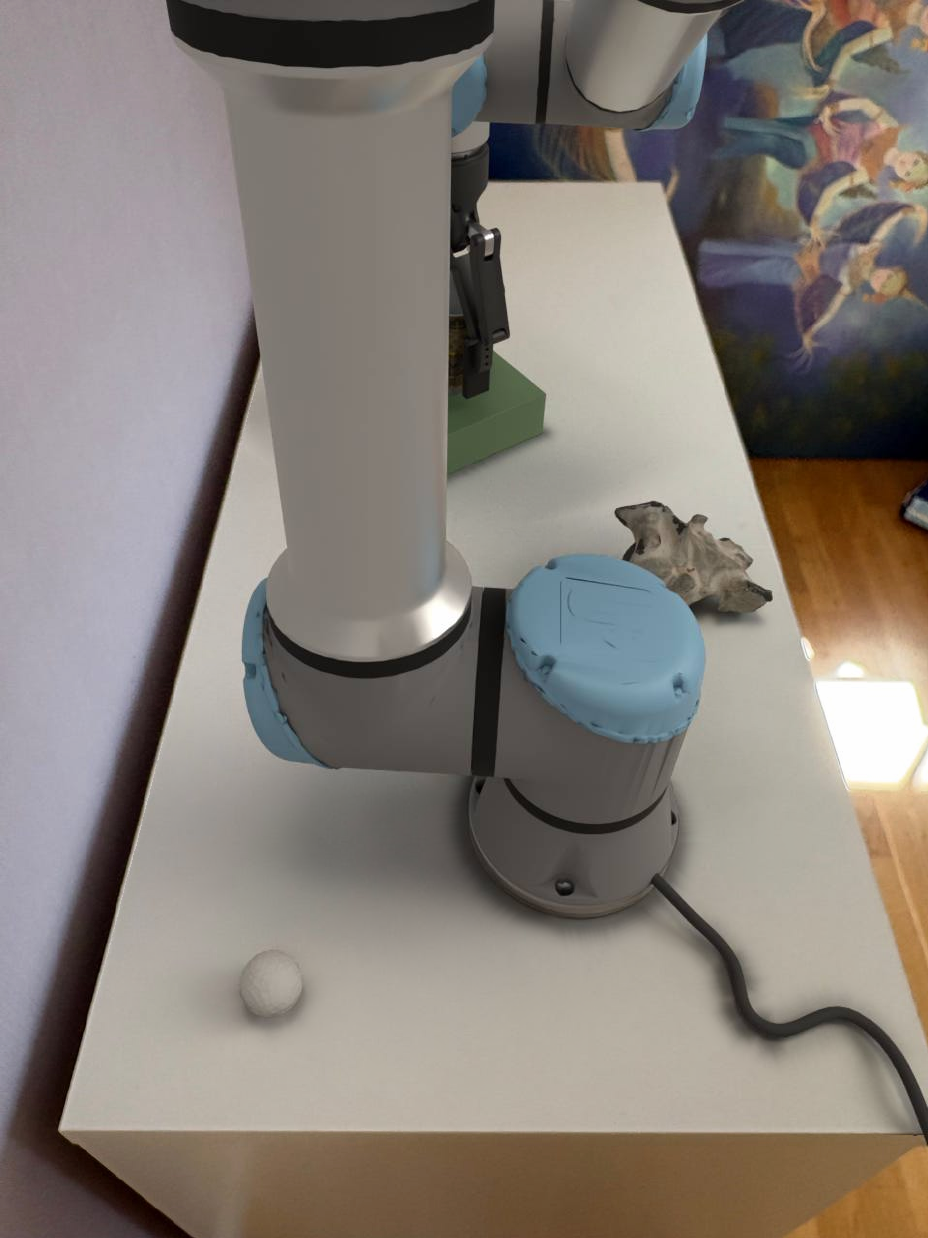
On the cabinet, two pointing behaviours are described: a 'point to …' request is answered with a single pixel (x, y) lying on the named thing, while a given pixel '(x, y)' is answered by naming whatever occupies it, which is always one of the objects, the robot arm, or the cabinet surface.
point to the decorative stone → (690, 558)
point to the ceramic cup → (455, 340)
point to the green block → (493, 416)
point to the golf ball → (270, 983)
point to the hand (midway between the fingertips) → (444, 365)
